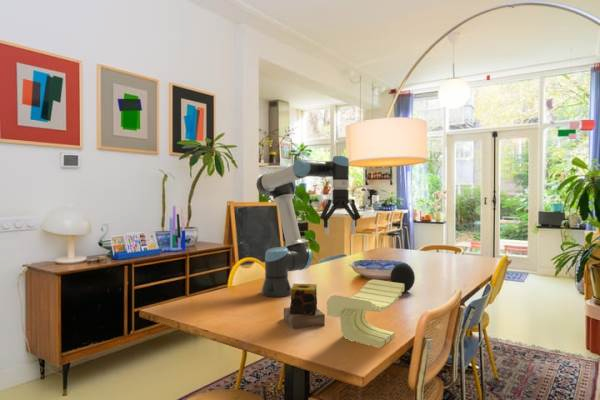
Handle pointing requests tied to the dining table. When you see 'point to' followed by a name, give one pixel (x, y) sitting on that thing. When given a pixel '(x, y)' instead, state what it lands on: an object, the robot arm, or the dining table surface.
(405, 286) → the decorative egg
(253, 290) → the dining table surface
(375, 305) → the slatted curved stool
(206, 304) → the dining table surface
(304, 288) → the candle
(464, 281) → the dining table surface
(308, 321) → the walnut block
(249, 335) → the dining table surface
